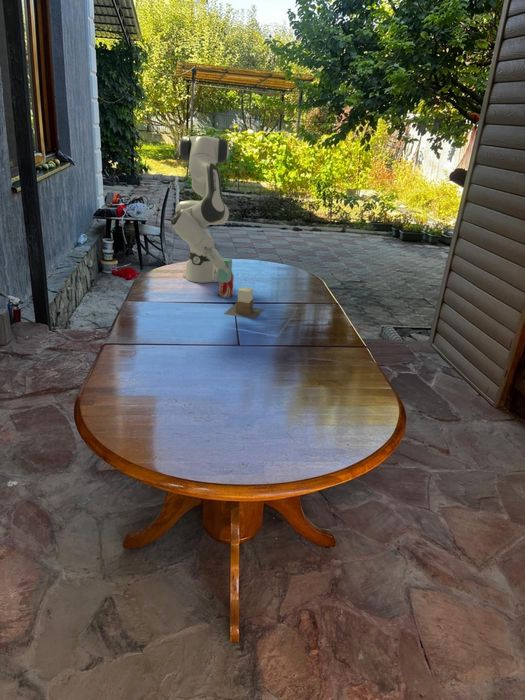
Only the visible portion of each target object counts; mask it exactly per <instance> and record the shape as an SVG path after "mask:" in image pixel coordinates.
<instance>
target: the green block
mask: <svg viewBox="0 0 525 700" xmlns="http://www.w3.org/2000/svg"><path fill="white" fill-rule="evenodd" d="M221 258H222V259H223V261H224V262H225V266H226V267H227V268H228V269H229V272H228V273H226V272H225V271H224V270H222V269H220V270H219V269H218V275H217V281H220V282H226V283H228V282H229V281H230V280H231V271H232V269H233V268H232V267H233V259H232V258H228V257H221ZM232 272H233V271H232Z"/></svg>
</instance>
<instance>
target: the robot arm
mask: <svg viewBox="0 0 525 700" xmlns="http://www.w3.org/2000/svg"><path fill="white" fill-rule="evenodd" d="M178 153H179V156H180V158H181V159H182V160H183V161H186V162H188V171H189V174H190V175H189V176H190V177H191V188H192V191H193V192H194V193H195V194H197V195H199V196H201V197H202V199H201V200H193V199H192V200H191V199H188V200H182V201H179V202H178V203H177V205H176V207H175V213H174V214H173V215H172V217H171V219H170V225H171V227H172V229H173V230H174V232H175V233H176V234H177V235H178V236H179V237H180V238H181V239H182V240H183V241H185V242H186V243H187V244H188V246H189V249H190V250H189V252H188V258H189V259H188V260H187V261H186V269H185V273H184V274H183V275H182V276H183V277H184V278H185V279H186V280H188V281H190V282H193V283H200V284H201V283H202V284H203V283H216V282H217V283H218V281H217V275H218V269H219V270H220V269H222V270H224V271H225V272H226V273H228V272H229V269H228V268H227V267H226V266H225V262H224V261H223V259H222V258H223V257H221V255H220V253H219V252H218V250H217V249H216V246H215V240H214V238H213V236H212V234H211V233H209V232H208V231H206V230H205V228H206V227H208V226H210V225H213V226H218V225H223V224H226V222H228V220H229V217H230V211H229V207H228V206H227V204H225V203H224V199H223V189H222V180H221V174H220V169H219V168H218V166H217V164H219V165H221V164H223V163H225V162H226V161H227V160H228V158H229V155H230V147H229V144H228V141H227V140H226V139H225V138H223V137H222V138H221V137H219V138H218V137H213V136H208V135H204V136H201V135H192V136H191V135H184V136H182V137H181V138H180V140H179V143H178Z"/></svg>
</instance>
